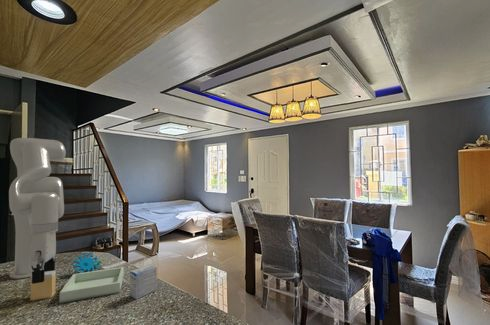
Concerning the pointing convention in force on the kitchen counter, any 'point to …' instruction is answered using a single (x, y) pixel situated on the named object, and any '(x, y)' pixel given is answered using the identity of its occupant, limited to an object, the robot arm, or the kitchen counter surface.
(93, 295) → the parts tray
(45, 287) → the tan and white block
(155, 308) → the kitchen counter surface
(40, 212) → the robot arm
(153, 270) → the medicine box
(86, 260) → the gear
